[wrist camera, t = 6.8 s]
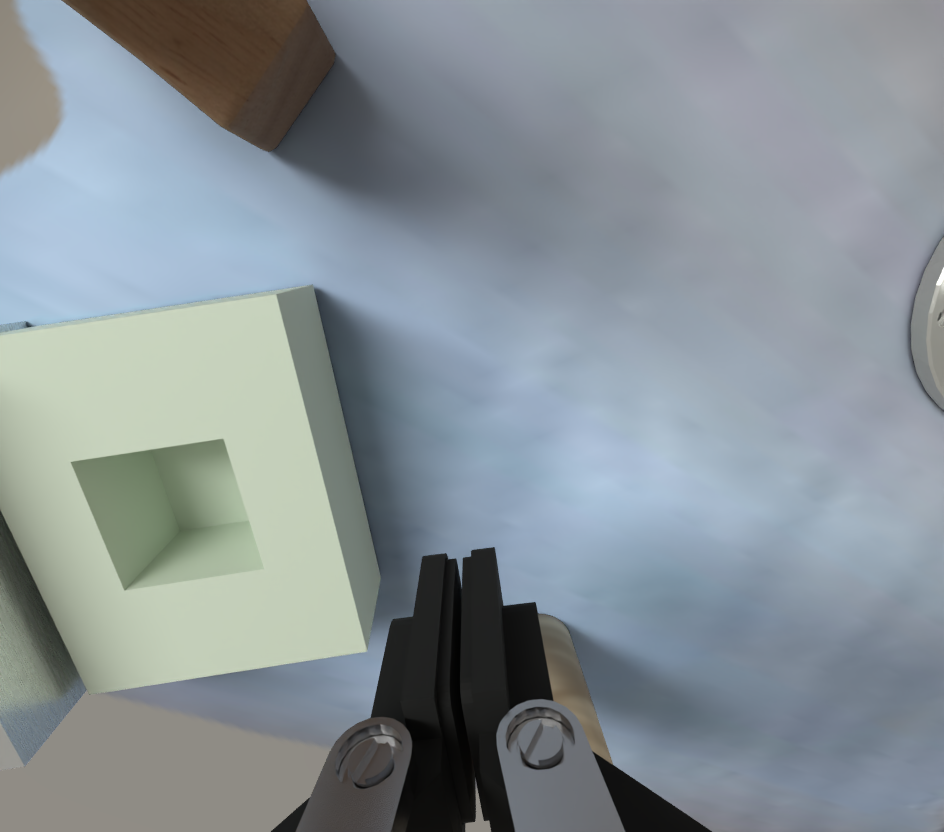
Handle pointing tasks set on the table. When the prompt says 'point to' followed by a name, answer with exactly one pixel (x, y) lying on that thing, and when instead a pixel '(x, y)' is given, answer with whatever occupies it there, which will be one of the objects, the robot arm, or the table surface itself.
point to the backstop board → (29, 657)
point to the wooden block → (226, 56)
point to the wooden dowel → (570, 681)
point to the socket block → (187, 489)
